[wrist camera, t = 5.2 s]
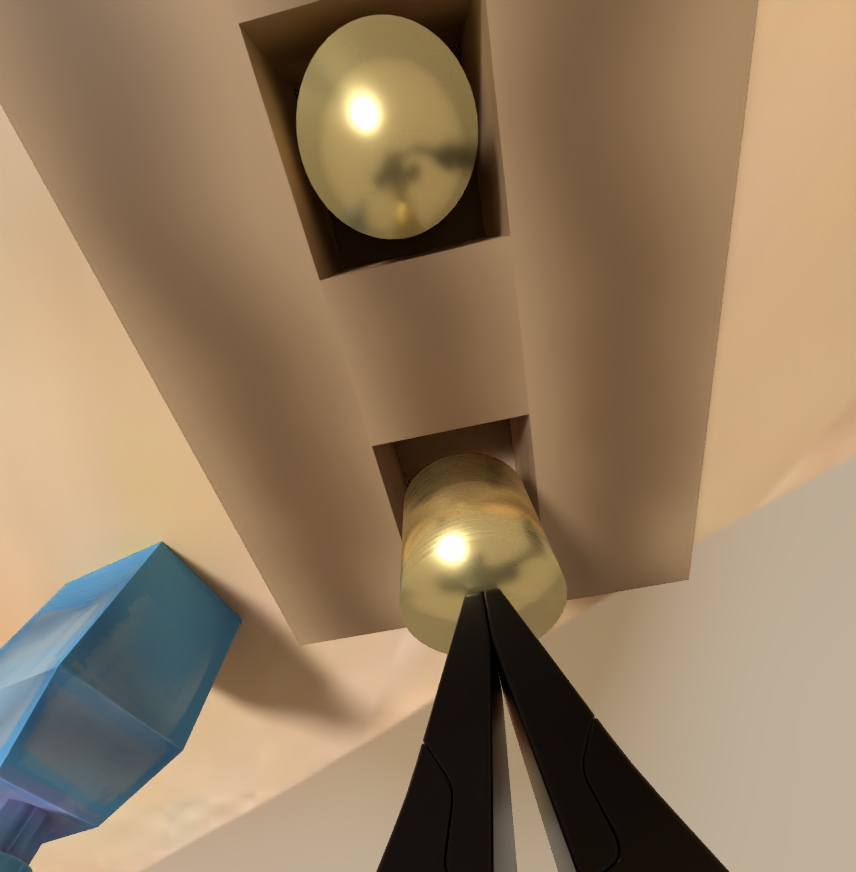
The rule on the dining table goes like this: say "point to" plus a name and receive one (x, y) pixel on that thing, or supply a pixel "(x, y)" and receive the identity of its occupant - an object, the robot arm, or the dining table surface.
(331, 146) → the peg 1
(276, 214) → the socket board
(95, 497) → the dining table surface
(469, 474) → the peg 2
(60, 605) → the perfume bottle
